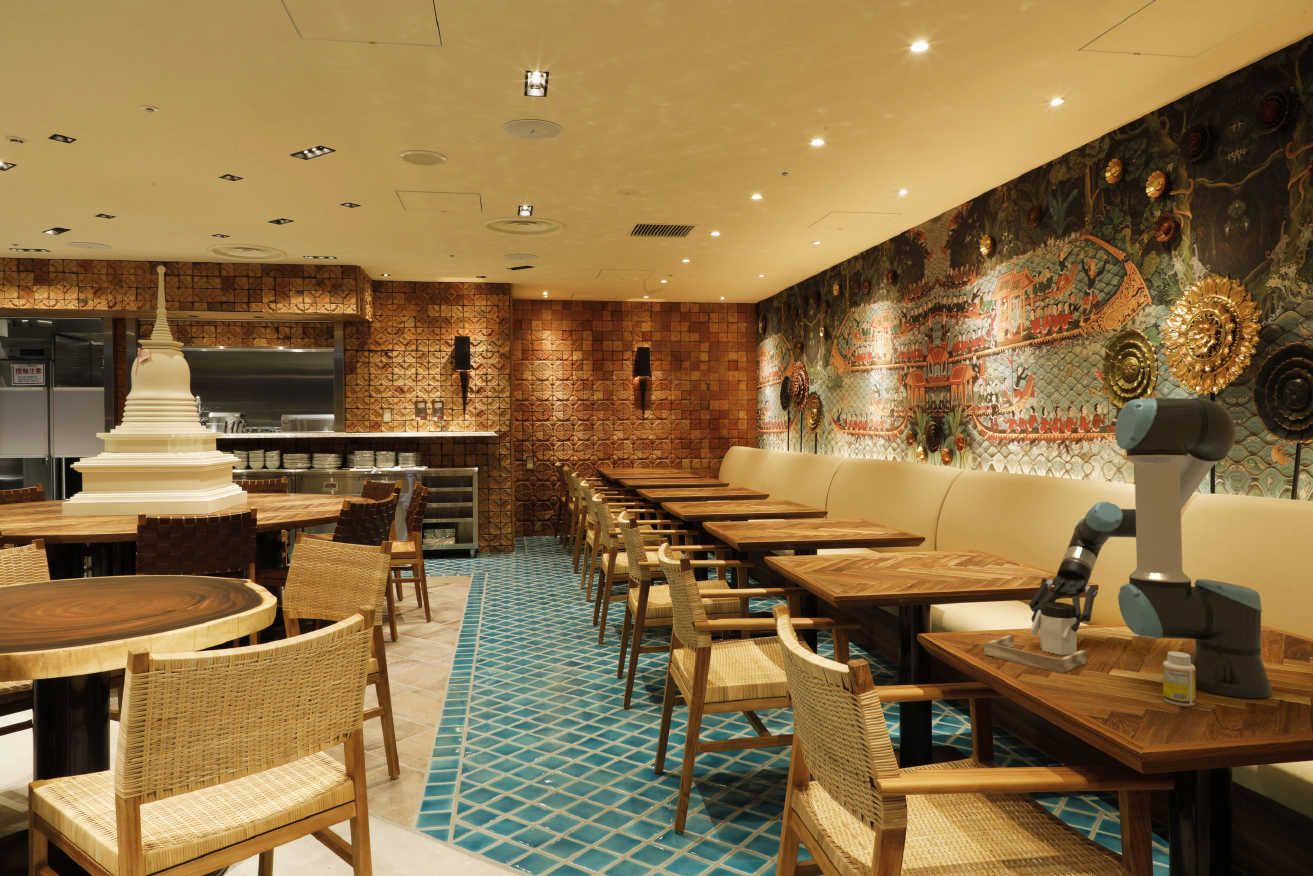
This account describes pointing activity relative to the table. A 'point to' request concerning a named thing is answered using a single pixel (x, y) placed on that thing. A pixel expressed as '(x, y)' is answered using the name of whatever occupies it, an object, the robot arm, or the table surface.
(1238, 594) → the robot arm
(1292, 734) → the table surface
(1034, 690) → the table surface
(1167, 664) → the supplement bottle
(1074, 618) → the jar
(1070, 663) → the corral
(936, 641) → the table surface
